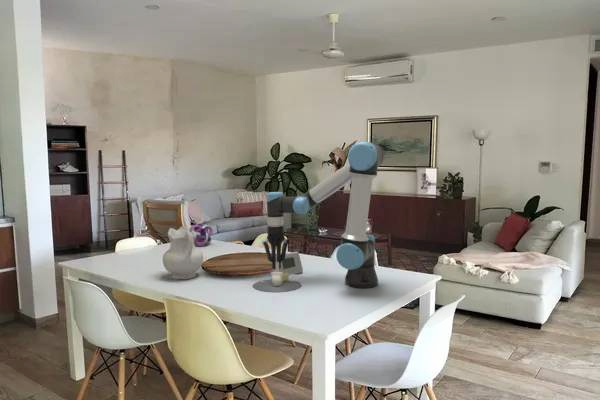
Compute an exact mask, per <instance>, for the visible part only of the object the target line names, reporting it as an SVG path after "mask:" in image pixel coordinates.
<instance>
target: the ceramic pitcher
mask: <svg viewBox="0 0 600 400" xmlns="http://www.w3.org/2000/svg"><path fill="white" fill-rule="evenodd" d="M167 238H168V239H169V242H170V247H169V249H168V250H166V251H165V252H164V253H163V255H162V264H163V266H164V268H165V271H167V272H168V273H170V274H172V275H171V278H172V280H189V279H194V278H195V277H197V274H196V272H197V271H199V269H200V268H201V267H202V265H203V262H204V255H203V251H202V250H200V249H198V248H197V246H196V245H195V244H194V241H195V238H196V232H194V231H192V230H191V229H190V227H188V226H186V225H181V226H180V227H179V228H178V229H175V228H172V227H170V228H169V229H168V231H167Z"/></svg>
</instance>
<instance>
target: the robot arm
mask: <svg viewBox="0 0 600 400" xmlns="http://www.w3.org/2000/svg"><path fill="white" fill-rule="evenodd" d="M384 159H385V152H384V150H383V148H382V147H381V145H380V144H378V143H377V142H376V143H375V142H371V141H359V142H357V143H355V144H354V145H352V146H351V147H350V149H349V151H348V154H347V161H348V163H347V164H345V165H343V166H342V167H340V168H339V169H338V170H336V171H335V172H334V173H332V174H331V175H329V176H328V177H326V178H325V179H324V180H322V181H321V182H319V183H318V184H316V185H315V186H314V187H312V188H311V189H309V190H308V191H306V192H305V193H303V194H302V195H301V194H300V195H296V196H284V192H282V191H270V192H268V193H267V194H266V211H267V213H266V214H267V215H266V218H267V221H266V222H267V223H266V224H267V226H266V227H267V237H266V239H265V240H262V241H261V243H262V245H263V247H264V250H265V253H266V254H265V255H266V258H267V261H268V262H271V269H273V272H279V269H280V268H281V262H282V260H284V259H285V255H286V253H287V249H288V245H289V243H290V240H289V239H288V238H286V236H285V233H284V232H285V231H284V230H285V228H284V227H285V226H284V224H285V223H284V214H298V215H301V214H303V215H304V214H307V213H308V211H311V210H312V209H315V208H316V206H317V205H318V204H320V203H321V202H322V201H324V200H325V199H327V198H329V197H331V196H332V195H333V194H335V193H336V192H337V191H339V190H341V189H342V188H343V187H344V186H346V185H347V184H349V183H350V182H351V183H350V194H349V201H348V210H347V217H346V224H345V225H346V226H345V232H344V233H343V234H342V235H341V238H340V239H341V240H340V245H339V246H338V248H337V251H336V254H335V255H336V260H337V262H338V264H339V265H340V266H341V268H344V269H346V270H347V271H346V274H345V277H344V284H345V285H346V286H349V287H351V288H358V289H367V288H370V289H371V288H375V287H378V285H379V278H378V275H377V274H378V273H377V272H376V268H375V259H376V258H375V257H376V256H375V254H376V251H375V249H376V245H375V244H376V240H375V236H374V235H373V234H367V228H368V220H369V218H368V217H369V210H370V202H371V195H372V188H373V187H372V185H373V179H375V178H376V177H377V176H378V168H379V167H380V166H381V164H382V163H383V161H384ZM282 243H283V244H282ZM269 244H270V247H269ZM270 248H271V250H270ZM276 256H277V261H276Z"/></svg>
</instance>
